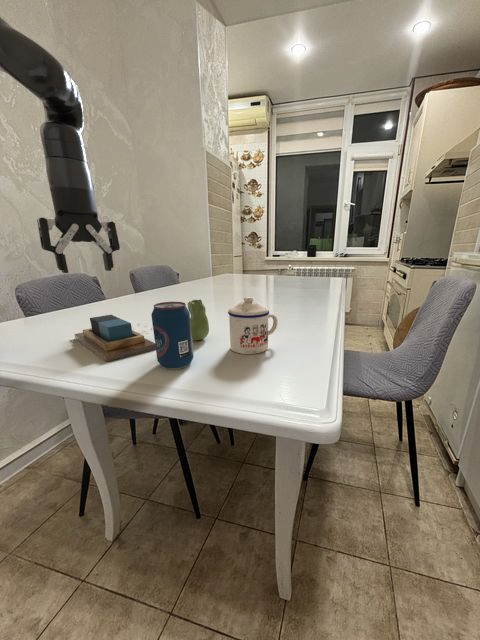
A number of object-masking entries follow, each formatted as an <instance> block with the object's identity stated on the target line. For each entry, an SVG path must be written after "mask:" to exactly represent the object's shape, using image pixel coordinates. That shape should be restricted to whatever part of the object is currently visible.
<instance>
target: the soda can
mask: <svg viewBox="0 0 480 640" xmlns="http://www.w3.org/2000/svg"><path fill="white" fill-rule="evenodd" d="M150 316H151V322H152V323H151V324H152V332H153V338H154V343H155V346H156V349H155V353H156V360H157V362H158V364H159V365H160V366H161V367H162V368H163V369H165V370H170V371H171V370H172V371H173V370H181V369H185V368H187V367H189V366H190V365H191V363H192V362H193V359H194V344H193V339H192V333H191V322H190V318H191V314H190V312H189V310H188V306H187V304H186V302H183V301H164V302H158V303H155V304H153V309H152V312H151V315H150Z"/></svg>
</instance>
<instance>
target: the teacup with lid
mask: <svg viewBox="0 0 480 640" xmlns="http://www.w3.org/2000/svg"><path fill="white" fill-rule="evenodd" d="M227 314H228V318H229V319H228V320H229V343H230V345H229V347H230V349H231V351H233V352H234V353H238V354H242V355H255V354H261V353H264V352H266V351H267V349H268V348H269V336H271V335H272V334H274V333H275V332H276V330H277V328H278V323H279V321H278V317H277V316H276V315H274V314H272V313H270V310H269V308H268V307H267V306H265V305H262V304H260V303H258V302H257V301H254V298H253V297H252V296H244V298H243V301H241V302H239V303H238V304H236V305H234V306H231V307H230V308H229V309H228V311H227ZM269 318H272V320H273V323H272V326H271V328H270V330H269Z"/></svg>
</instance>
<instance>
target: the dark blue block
mask: <svg viewBox="0 0 480 640" xmlns="http://www.w3.org/2000/svg"><path fill="white" fill-rule="evenodd" d="M115 319H121V318H120V317H118V316H116V315H113V314H106V315H100V316H92V317H89V321H90V328H92V331H93V333H94V334H95V335H97V336H99V337H100V338H101V334H100V329H99V324H98V322H104V321H110V320H115Z"/></svg>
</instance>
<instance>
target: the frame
mask: <svg viewBox="0 0 480 640" xmlns="http://www.w3.org/2000/svg"><path fill="white" fill-rule="evenodd" d="M132 333H133V337H130V338H126V339H121V340H117V341H112V342H107V341H105V340H103V339H102V338H100V337H99V336H97V335H95V334H94V333H93V331H92V327H90V328H86V329H82V332H78V333H74V339H76V340H77V341H78V342H79V343H81V344H82V345H83V346H84V347H86V348H87V349H88V350H89V351H91V352H92V353H94V354H95V355H97V356H98V357H99V358H101V359H102V360H103V361H105V362H107V363H109V362H112V361H115V360H119V359H123V358H127V357H131V356H134V355H138V354H139V355H140V354H142V353H147V352H150V351H154V350H156V346H155V342H153V341H151V340H149V339H147V338H145V335H144V334H141V333H140V332H137V331H135V330H134V329H132Z"/></svg>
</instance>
